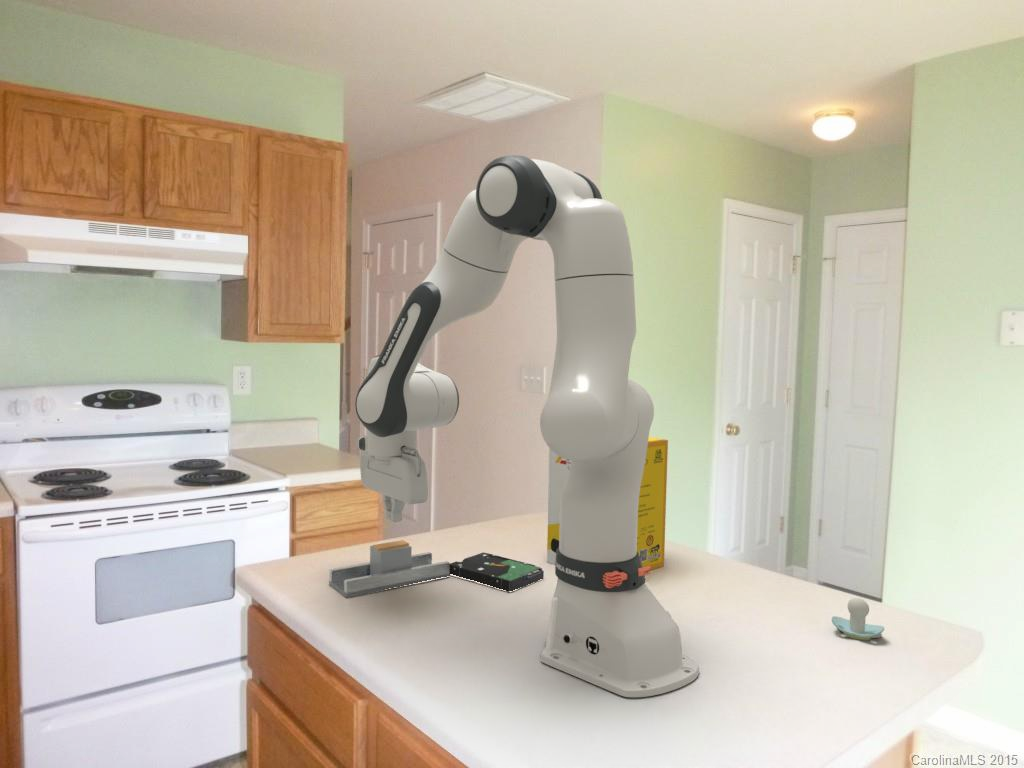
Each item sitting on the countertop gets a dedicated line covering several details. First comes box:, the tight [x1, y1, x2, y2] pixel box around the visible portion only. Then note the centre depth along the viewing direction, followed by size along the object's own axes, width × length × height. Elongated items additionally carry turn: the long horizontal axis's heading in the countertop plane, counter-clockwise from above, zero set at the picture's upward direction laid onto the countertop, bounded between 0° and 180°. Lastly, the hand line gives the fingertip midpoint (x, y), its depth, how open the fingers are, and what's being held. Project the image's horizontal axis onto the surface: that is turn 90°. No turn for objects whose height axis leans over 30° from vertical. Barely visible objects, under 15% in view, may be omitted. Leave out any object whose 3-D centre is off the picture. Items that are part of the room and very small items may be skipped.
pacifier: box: [831, 597, 885, 641], centre depth 116 cm, size 7×6×6 cm
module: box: [369, 539, 413, 575], centre depth 136 cm, size 4×6×6 cm
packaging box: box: [546, 436, 669, 573], centre depth 148 cm, size 16×16×25 cm
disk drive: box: [449, 552, 545, 591], centre depth 140 cm, size 10×3×15 cm
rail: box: [328, 551, 451, 599], centre depth 136 cm, size 8×20×3 cm, turn 125°
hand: (393, 520), depth 136 cm, fingers closed
